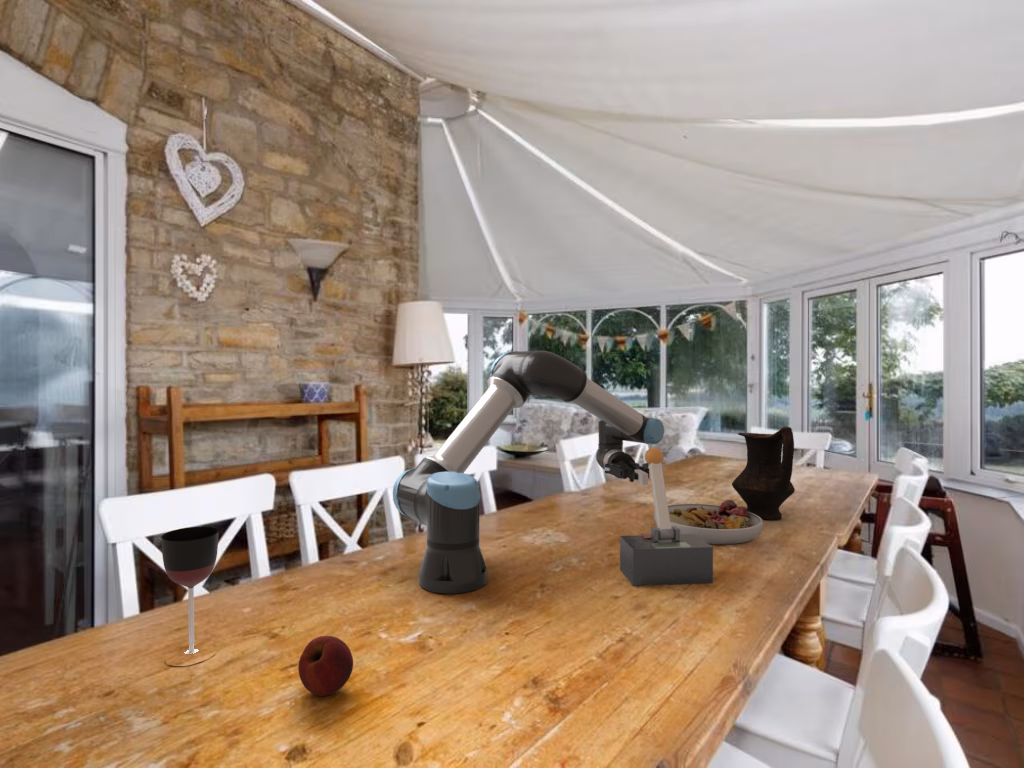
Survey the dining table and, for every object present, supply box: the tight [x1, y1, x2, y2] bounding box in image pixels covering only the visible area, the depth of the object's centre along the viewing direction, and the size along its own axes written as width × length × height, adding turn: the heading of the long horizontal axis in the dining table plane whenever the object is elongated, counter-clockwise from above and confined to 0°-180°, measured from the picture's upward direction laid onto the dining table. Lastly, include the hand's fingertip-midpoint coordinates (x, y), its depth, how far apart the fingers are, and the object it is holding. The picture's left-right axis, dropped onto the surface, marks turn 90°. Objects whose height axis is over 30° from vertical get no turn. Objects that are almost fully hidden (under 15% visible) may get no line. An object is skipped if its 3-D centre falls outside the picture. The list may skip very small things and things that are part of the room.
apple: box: [297, 635, 354, 697], centre depth 81 cm, size 7×8×8 cm
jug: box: [731, 426, 796, 521], centre depth 179 cm, size 21×18×30 cm
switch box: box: [619, 526, 714, 587], centre depth 127 cm, size 10×18×11 cm, turn 95°
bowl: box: [653, 499, 764, 545], centre depth 163 cm, size 30×30×8 cm
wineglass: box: [160, 526, 219, 654], centre depth 91 cm, size 8×9×20 cm
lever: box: [644, 447, 674, 540], centre depth 130 cm, size 4×4×22 cm
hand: (645, 479), depth 141 cm, fingers closed
